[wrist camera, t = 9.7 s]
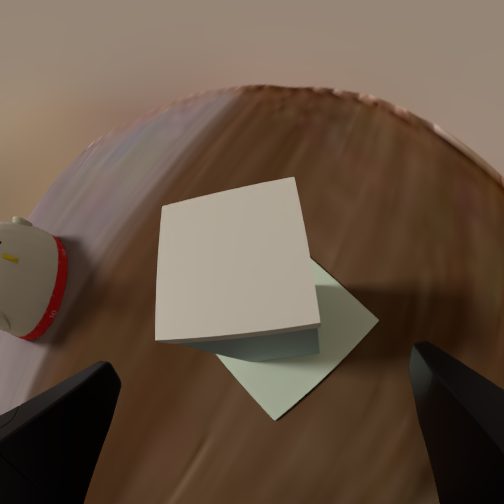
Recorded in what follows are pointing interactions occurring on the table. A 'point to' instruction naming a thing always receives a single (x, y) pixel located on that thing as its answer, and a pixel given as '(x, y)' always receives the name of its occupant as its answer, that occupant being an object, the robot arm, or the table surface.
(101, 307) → the table surface
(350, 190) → the table surface
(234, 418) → the table surface
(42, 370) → the table surface
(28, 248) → the kitchen timer
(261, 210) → the tea tin
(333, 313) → the plate
